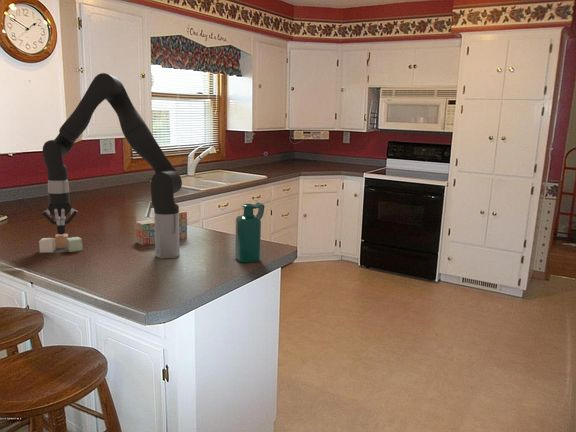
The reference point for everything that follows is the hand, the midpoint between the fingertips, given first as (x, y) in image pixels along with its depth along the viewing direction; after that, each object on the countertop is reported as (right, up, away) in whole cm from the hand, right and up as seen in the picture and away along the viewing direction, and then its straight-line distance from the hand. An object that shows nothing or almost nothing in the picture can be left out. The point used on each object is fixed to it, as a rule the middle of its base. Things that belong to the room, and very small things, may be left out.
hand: (61, 234), depth 189 cm
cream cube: (-3, -6, -5) cm, 9 cm away
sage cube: (+6, -6, -3) cm, 9 cm away
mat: (+1, -6, -1) cm, 7 cm away
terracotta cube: (0, -5, +1) cm, 5 cm away
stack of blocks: (+35, -4, +18) cm, 40 cm away
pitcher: (+75, -10, -5) cm, 76 cm away
